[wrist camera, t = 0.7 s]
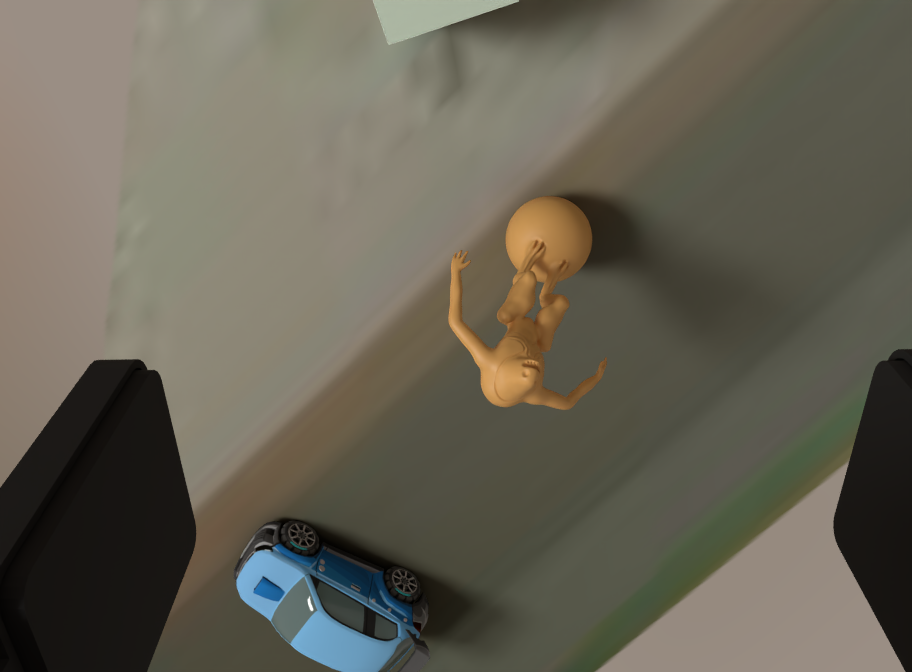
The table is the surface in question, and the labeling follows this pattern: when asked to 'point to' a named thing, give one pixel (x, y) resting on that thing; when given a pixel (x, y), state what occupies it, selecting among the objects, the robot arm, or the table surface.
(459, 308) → the figurine
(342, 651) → the toy car
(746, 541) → the table surface
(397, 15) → the green block
